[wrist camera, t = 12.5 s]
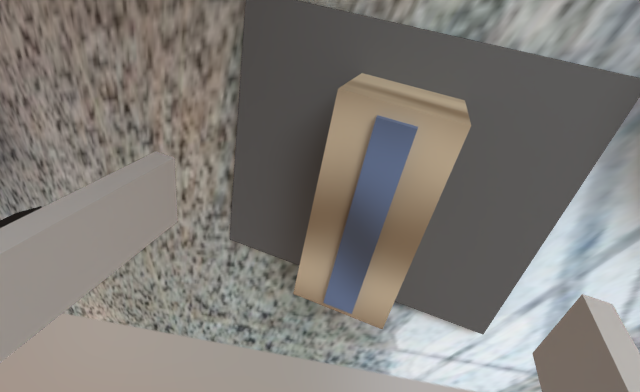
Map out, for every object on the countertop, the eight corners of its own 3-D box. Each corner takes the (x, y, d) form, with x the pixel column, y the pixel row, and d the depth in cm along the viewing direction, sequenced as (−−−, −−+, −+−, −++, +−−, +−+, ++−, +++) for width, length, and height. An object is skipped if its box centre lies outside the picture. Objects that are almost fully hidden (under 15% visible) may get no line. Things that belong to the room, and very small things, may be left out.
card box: (362, 73, 15) (335, 90, 11) (465, 100, 14) (471, 128, 11) (318, 247, 20) (291, 297, 16) (393, 275, 19) (381, 334, 16)
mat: (233, 235, 22) (229, 239, 22) (251, -10, 15) (246, -11, 15) (482, 327, 20) (483, 334, 19) (643, 78, 13) (649, 80, 12)
